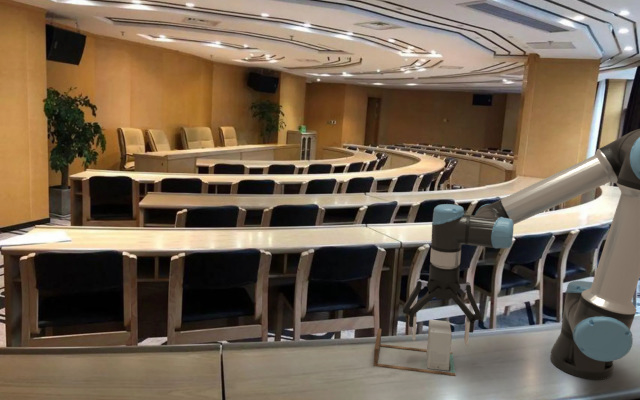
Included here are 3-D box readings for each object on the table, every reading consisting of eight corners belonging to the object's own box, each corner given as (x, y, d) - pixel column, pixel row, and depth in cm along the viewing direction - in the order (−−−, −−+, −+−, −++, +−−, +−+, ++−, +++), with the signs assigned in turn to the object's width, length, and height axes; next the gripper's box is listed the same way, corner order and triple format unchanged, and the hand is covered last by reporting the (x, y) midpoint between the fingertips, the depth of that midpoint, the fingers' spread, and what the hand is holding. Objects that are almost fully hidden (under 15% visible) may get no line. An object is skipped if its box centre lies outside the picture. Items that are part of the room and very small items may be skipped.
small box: (448, 371, 131) (452, 334, 129) (426, 368, 132) (429, 331, 130) (447, 356, 139) (450, 321, 137) (426, 354, 140) (429, 318, 138)
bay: (452, 353, 141) (453, 336, 140) (455, 376, 129) (457, 358, 128) (376, 344, 144) (377, 328, 143) (373, 366, 133) (374, 348, 132)
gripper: (493, 263, 131) (486, 338, 136) (396, 256, 136) (393, 329, 140) (497, 272, 124) (490, 352, 128) (395, 265, 129) (391, 342, 133)
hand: (439, 340), depth 134 cm, fingers open, 13 cm apart
